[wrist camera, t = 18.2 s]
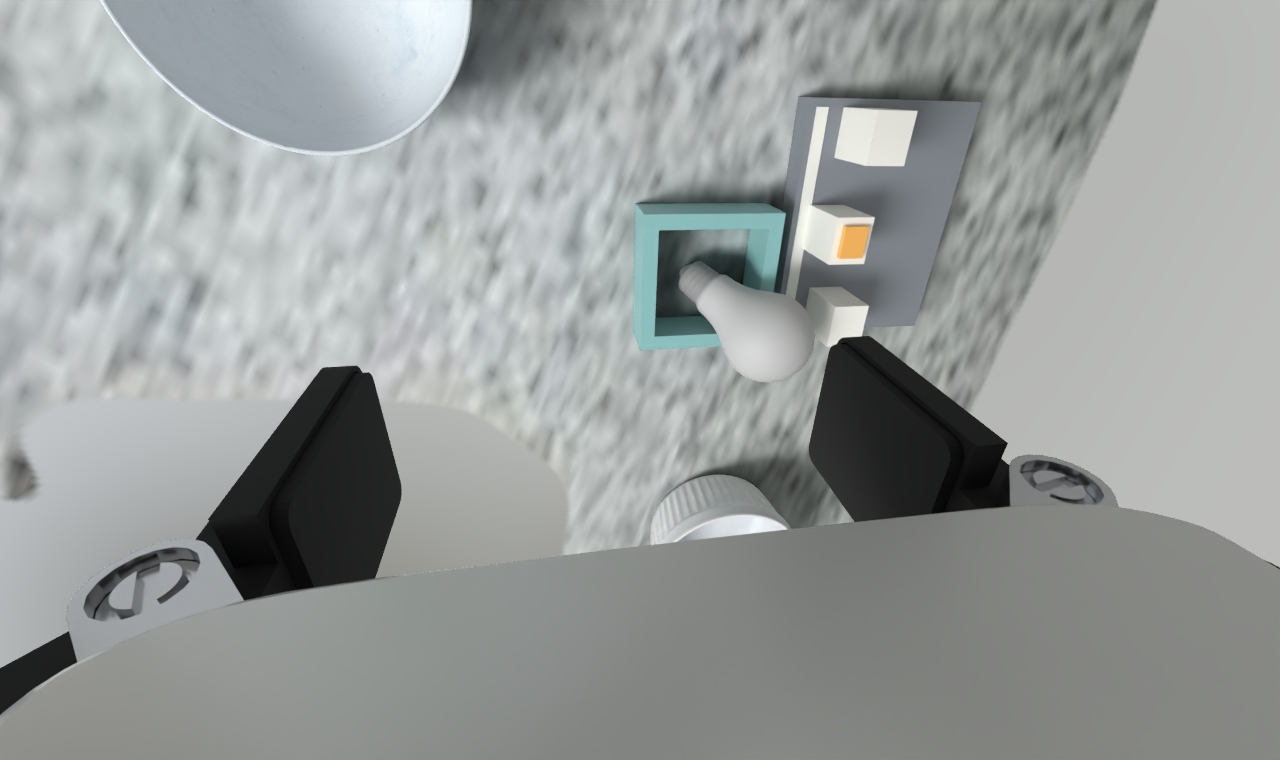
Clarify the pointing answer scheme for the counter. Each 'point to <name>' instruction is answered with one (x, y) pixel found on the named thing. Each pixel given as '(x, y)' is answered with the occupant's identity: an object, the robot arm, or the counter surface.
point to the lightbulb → (751, 323)
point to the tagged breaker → (837, 234)
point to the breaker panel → (871, 204)
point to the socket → (698, 216)
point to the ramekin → (713, 511)
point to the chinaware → (304, 64)
